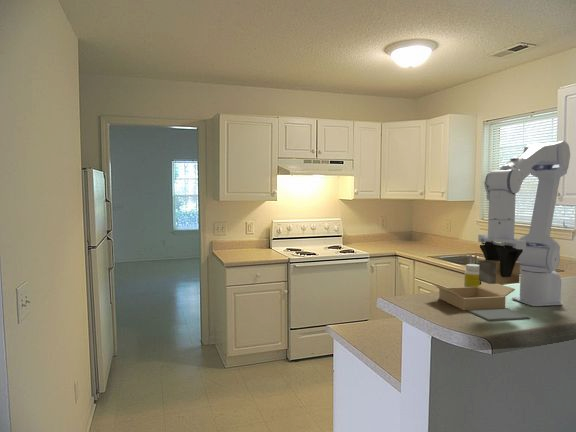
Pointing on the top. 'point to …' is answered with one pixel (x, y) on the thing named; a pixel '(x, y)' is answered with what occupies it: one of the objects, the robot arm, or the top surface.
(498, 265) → the box
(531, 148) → the robot arm
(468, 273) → the supplement bottle
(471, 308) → the carton
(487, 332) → the top surface
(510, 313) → the mat
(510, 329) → the top surface
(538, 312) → the top surface
